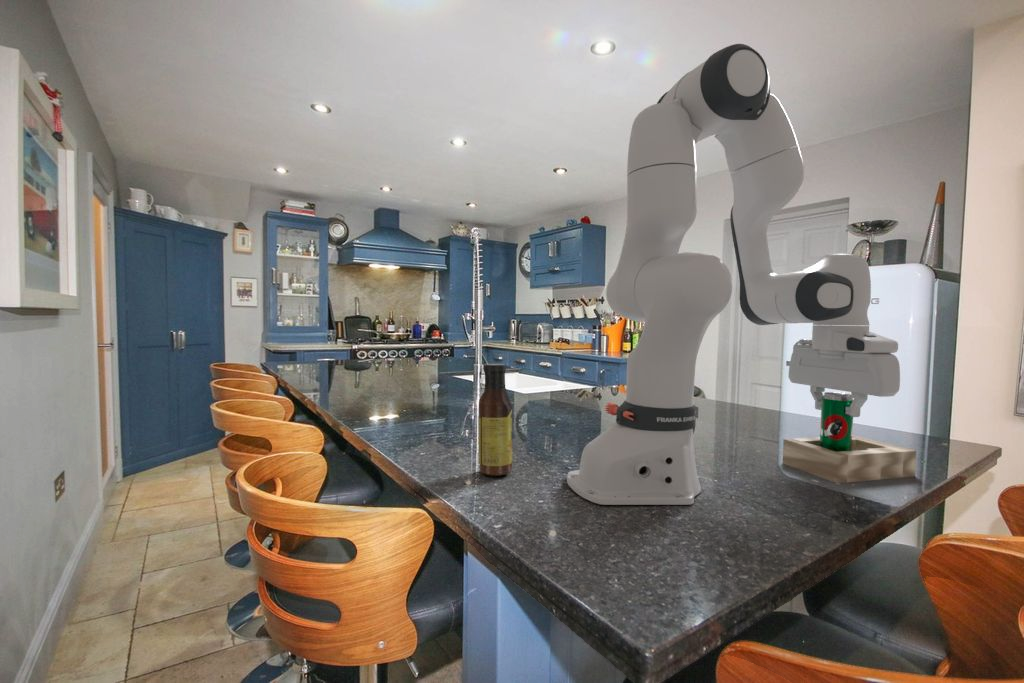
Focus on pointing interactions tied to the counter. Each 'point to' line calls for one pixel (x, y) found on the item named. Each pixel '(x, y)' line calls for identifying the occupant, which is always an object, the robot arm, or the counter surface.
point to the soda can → (836, 422)
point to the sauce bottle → (495, 423)
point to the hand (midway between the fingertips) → (836, 413)
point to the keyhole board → (850, 460)
